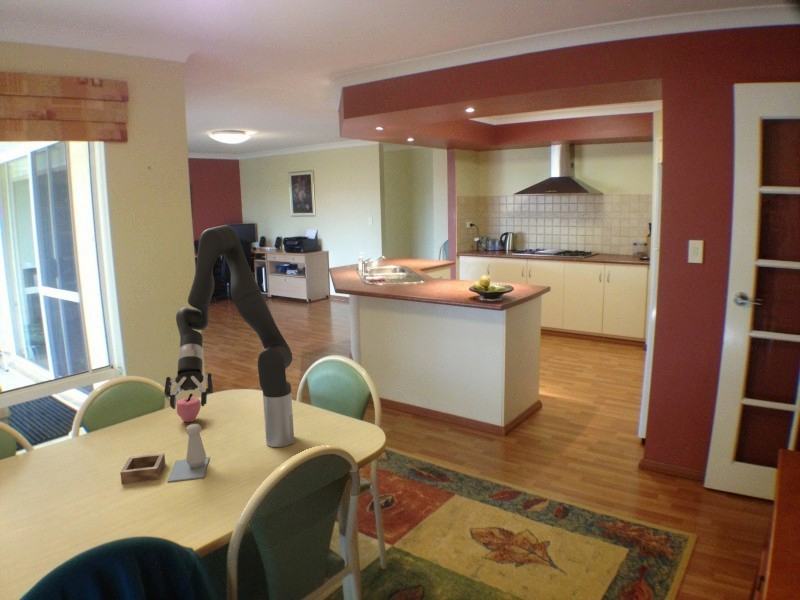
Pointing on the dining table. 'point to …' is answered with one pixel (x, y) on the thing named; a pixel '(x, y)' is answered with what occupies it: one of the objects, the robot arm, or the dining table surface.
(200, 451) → the salt shaker
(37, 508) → the dining table surface
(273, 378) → the robot arm
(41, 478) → the dining table surface
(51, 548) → the dining table surface
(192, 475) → the rubber mat
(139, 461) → the pocket block
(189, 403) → the apple
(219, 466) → the dining table surface
